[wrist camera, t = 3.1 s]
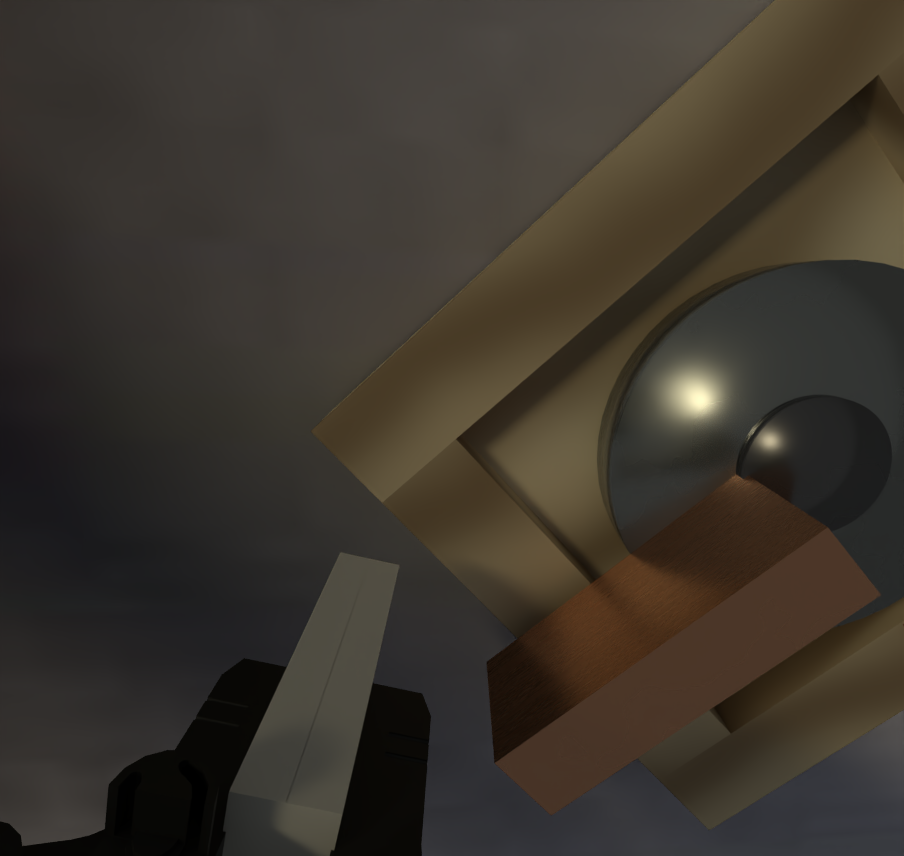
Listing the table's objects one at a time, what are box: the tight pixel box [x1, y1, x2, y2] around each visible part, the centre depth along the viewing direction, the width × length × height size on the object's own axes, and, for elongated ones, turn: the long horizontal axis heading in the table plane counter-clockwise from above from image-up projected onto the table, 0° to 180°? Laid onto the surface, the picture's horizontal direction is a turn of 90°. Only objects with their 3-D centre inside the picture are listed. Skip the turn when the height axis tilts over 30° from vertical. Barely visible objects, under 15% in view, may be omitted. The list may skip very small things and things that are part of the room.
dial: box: [487, 260, 904, 815], centre depth 15 cm, size 16×11×5 cm, turn 132°
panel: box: [311, 0, 904, 830], centre depth 17 cm, size 20×20×3 cm
